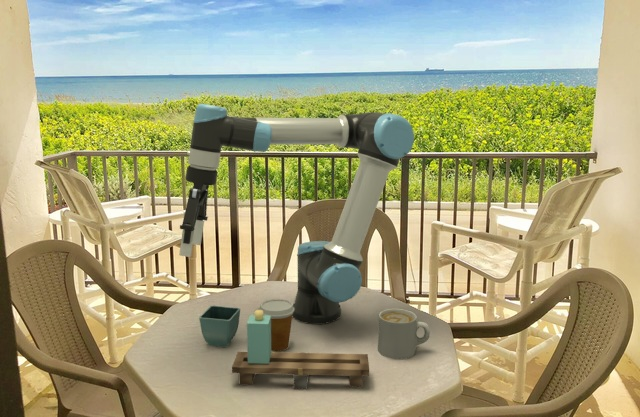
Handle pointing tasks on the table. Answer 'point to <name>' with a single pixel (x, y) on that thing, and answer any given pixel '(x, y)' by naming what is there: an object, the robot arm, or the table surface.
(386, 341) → the coffee mug
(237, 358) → the brown flat slatted piece
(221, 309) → the flower pot
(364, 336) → the table surface
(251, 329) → the block
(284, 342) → the disposable coffee cup
